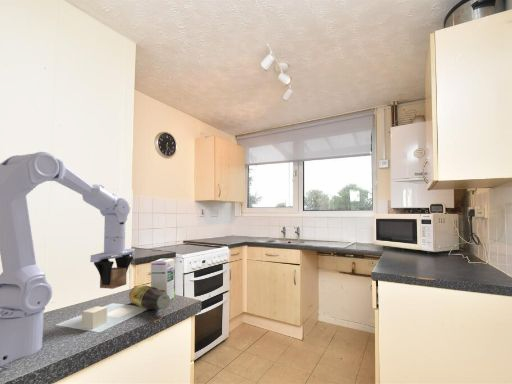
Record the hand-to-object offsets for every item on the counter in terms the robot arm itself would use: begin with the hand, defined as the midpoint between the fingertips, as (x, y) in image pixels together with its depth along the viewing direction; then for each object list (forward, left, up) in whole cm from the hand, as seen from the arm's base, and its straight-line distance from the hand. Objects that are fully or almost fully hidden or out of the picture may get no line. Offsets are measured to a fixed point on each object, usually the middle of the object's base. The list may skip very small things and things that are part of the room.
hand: (113, 282), depth 80 cm
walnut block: (0, 0, -1) cm, 1 cm away
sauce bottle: (+10, +1, -6) cm, 12 cm away
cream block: (-9, -3, -9) cm, 13 cm away
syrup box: (+12, -8, -10) cm, 18 cm away
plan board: (-3, -1, -9) cm, 10 cm away
